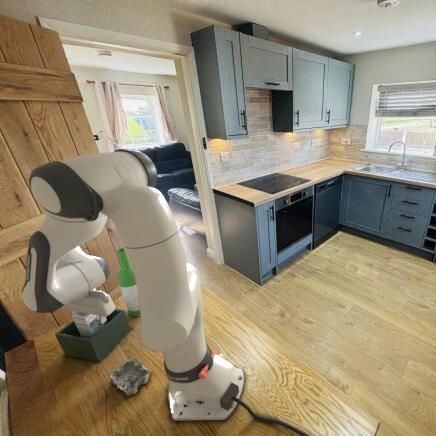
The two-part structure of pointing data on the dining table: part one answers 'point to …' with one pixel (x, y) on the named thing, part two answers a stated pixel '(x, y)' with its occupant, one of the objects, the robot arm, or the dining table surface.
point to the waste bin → (94, 338)
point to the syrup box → (87, 324)
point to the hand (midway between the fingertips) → (91, 319)
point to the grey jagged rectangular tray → (130, 376)
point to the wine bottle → (128, 284)
